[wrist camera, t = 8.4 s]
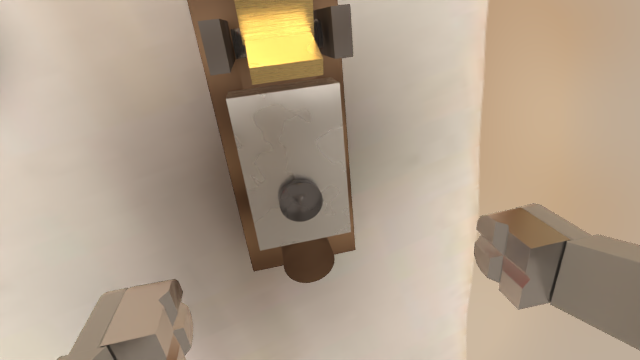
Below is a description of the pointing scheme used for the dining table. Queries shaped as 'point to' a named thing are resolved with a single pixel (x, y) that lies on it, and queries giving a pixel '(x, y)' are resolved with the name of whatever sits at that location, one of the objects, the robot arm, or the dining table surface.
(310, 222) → the grey plate with knob
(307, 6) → the lever
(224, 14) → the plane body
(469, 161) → the dining table surface
